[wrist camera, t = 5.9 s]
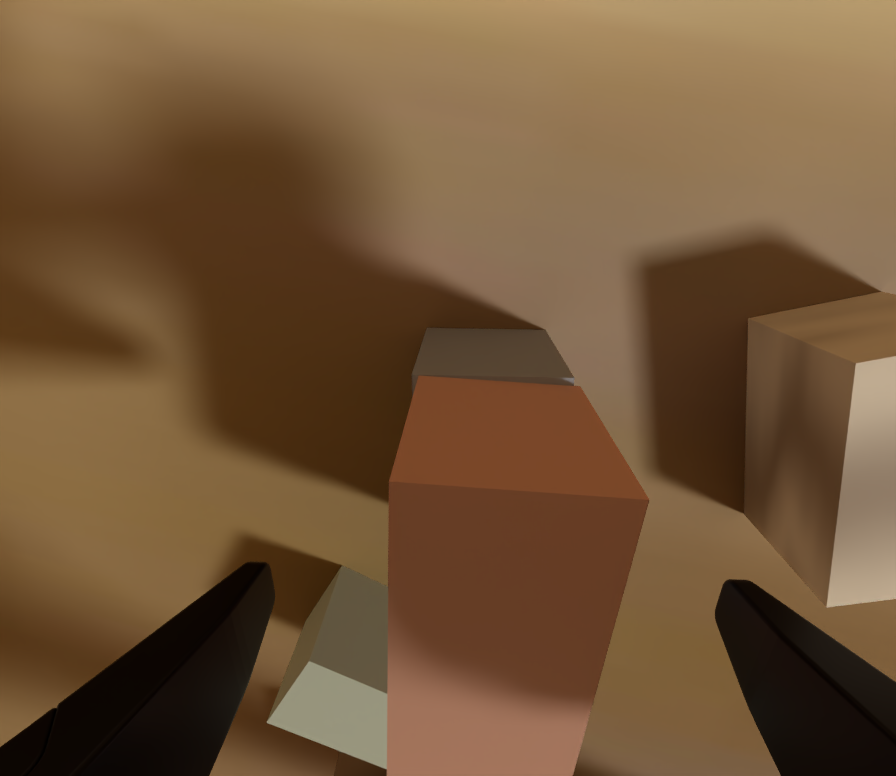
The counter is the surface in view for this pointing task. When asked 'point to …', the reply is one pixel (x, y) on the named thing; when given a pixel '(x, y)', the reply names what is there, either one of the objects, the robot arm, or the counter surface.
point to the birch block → (826, 444)
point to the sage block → (341, 671)
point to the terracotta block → (502, 576)
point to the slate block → (491, 356)
